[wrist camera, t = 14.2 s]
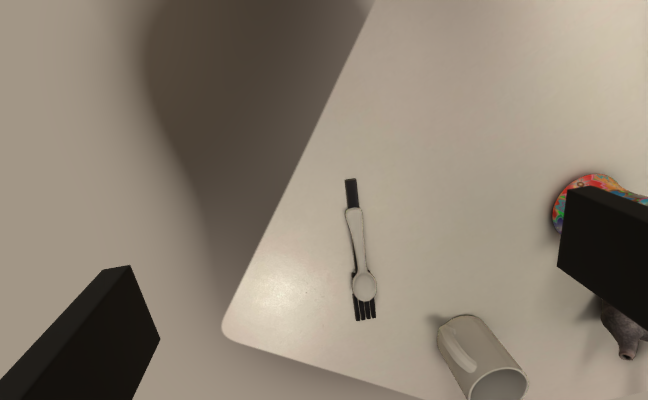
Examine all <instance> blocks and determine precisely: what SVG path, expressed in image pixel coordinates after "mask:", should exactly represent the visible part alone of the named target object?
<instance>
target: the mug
mask: <svg viewBox="0 0 648 400" xmlns="http://www.w3.org/2000/svg"><path fill="white" fill-rule="evenodd" d="M590 185H592V186H594V187H597V188H600V189H603V190H605V191H608V192H611V193H613V194H616V195H619V196H621V197H624V198H627V199H630V200H632V201H635V202H638V203H640V204H643V205H646V206H648V197H647V196H642V195H638V194H635V193H632V192H630V191H628V190H626V189H624V188H622V187H621V186H620V185H619V184H618V183H617V182H616V181H615V180H614V179H613V178H611V177H609V176H607V175H603V174H591V175H586V176H583V177H581V178H579V179H577V180H575V181H573V182H572V183H571V184H569V185H568V186H567V187H566V188H565V189H564V190H563V191H562V192H561V194H560V195H559V197H558V198H557V200H556V202H555V205H554V208H553V214H552V218H553V224H554V227H555V229H556V230H557V231H558V232H559V233H560V234H561V231H562V224H563V217H564V209H565V202H566V194H567V189H572V188H578V187H584V186H590Z"/></svg>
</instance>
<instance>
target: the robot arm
mask: <svg viewBox="0 0 648 400" xmlns="http://www.w3.org/2000/svg"><path fill="white" fill-rule="evenodd" d="M557 267H558V268H560V269H561V270H563V271H564V272H565V273H567V274H568V275H570V276H571V277H572V278H574V279H575V280H576V281H578V282H579V283H581V284H582V285H583V286H585V287H586V288H588V289H589V290H590V291H592V292H593V293H595V294H596V295H597V296H599V297H600V298H602V299H603V300H604V301H606V302H607V303H609V304H610V305H611V306H613V307H614V308H616V309H617V310H618V311H620V312H621V313H623V314H624V315H625V316H627V317H628V318H630V319H631V320H632V321H634V322H635V323H637V324H638V325H639V326H641V327H642V328H644V329H645V330H646V331H648V206H646V205H643V204H640V203H638V202H635V201H632V200H630V199H627V198H624V197H621V196H619V195H616V194H613V193H611V192H608V191H605V190H603V189H600V188H597V187H594V186H592V185H590V186H584V187H578V188H572V189H567V194H566V202H565V209H564V217H563V224H562V231H561V239H560V246H559V254H558V261H557ZM159 341H160V337H159V334H158V332H157V329H156V327H155V325H154V322H153V320H152V318H151V315H150V312H149V310H148V308H147V305H146V303H145V300H144V298H143V295H142V293H141V291H140V288H139V285H138V283H137V281H136V278H135V276H134V273H133V271H132V268H131V266H130V265H127V266H121V267H116V268H109V269H104V270H102V271H101V272H100V273H99V274H98V275H97V277H96V278H95V279H94V280H93V281H92V282H91V283H90V284H89V285H88V286H87V287H86V288H85V289H84V291H83V292H82V293H81V294H80V295H79V296H78V297H77V298H76V299H75V300H74V301H73V302H72V303H71V304H70V305H69V307H68V308H67V309H66V310H65V311H64V312H63V313H62V314H61V315H60V316H59V317H58V318H57V319H56V321H55V322H54V323H53V324H52V325H51V326H50V327H49V328H48V329H47V330H46V331H45V332H44V333H43V334H42V336H41V337H40V338H39V339H38V340H37V341H36V342H35V343H34V344H33V345H32V346H31V347H30V348H29V350H28V351H27V352H26V353H25V354H24V355H23V356H22V357H21V358H20V359H19V360H18V361H17V362H16V363H15V365H14V366H13V367H12V368H11V369H10V370H9V371H8V372H7V373H6V374H5V375H4V376H3V377H2V378H1V380H0V400H132V398H133V397H134V394H135V392H136V390H137V388H138V386H139V384H140V382H141V380H142V377H143V375H144V373H145V371H146V369H147V367H148V365H149V363H150V360H151V358H152V356H153V354H154V352H155V350H156V348H157V345H158V344H159Z"/></svg>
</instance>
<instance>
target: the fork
mask: <svg viewBox="0 0 648 400" xmlns="http://www.w3.org/2000/svg"><path fill="white" fill-rule="evenodd" d="M345 187H346V195H347V204H348V209H350V208H359V202H358V193H357V183H356V179H355V178H354V179H348V180H345ZM351 238H352V235H351ZM352 246H353V255H354V263H355V272H356V273H352V280H353V279H354V277H355V275H356V274H357V272H358V266H357V260H356V255H355V250H354V244H353V239H352ZM367 271H368V272H369V273H370V271H369V270H367ZM353 301H354V309H355V317H356V321H360V315H359V307H358V299H357V298H356V296H355V295H354V294H353ZM359 305H360V314H361V320H365V311H364V302H363V301H360V300H359ZM370 306H371V316H372V318H376V312H375V302H374V297H373V298H372V299H371V300H370ZM365 310H366V318H367V319H371V316H370V307H369V301H366V302H365Z"/></svg>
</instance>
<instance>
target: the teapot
mask: <svg viewBox="0 0 648 400" xmlns="http://www.w3.org/2000/svg"><path fill="white" fill-rule="evenodd" d="M601 320H602V323H603V325H604V326H605V327H606V328H607V330H608V331H609V332H610V333H611V334H612V335H613V337H614V338H615V340H616V341H617V342H618V345H619V356H620V358H622V359H625V360H633V358H634V357H635V354H636V352H637V348H638V341H639V340H643V341H648V331H646V330H645V329H644V328H642V327H641V326H639V325H638V324H637V323H635V322H634V321H632V320H631V319H630V318H628V317H627V316H625V315H624V314H623V313H621V312H620V311H618V310H617V309H616V308H614V307H613V306H611V305H610V304H609V303H607V302H606V301H604V300H602V315H601Z"/></svg>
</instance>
